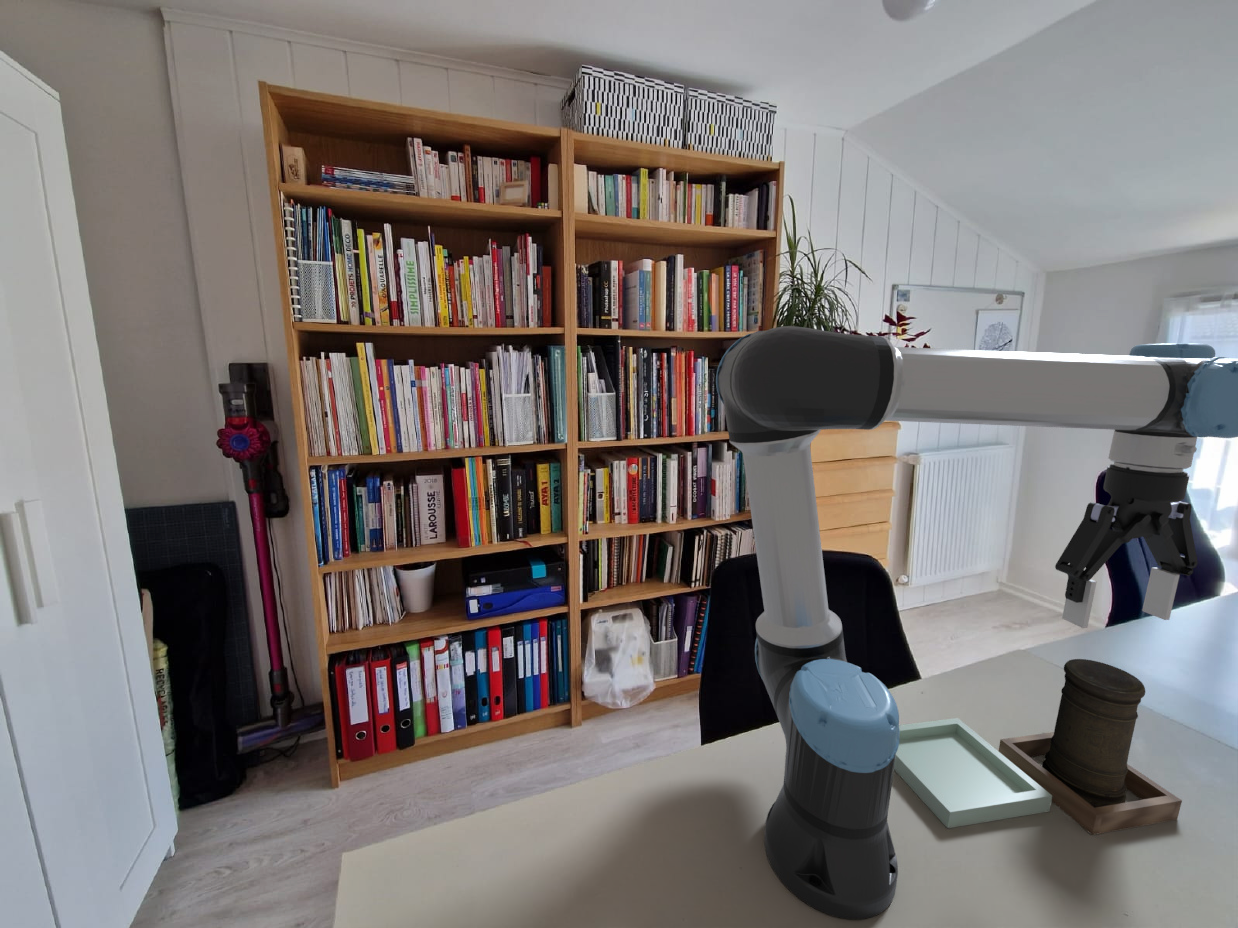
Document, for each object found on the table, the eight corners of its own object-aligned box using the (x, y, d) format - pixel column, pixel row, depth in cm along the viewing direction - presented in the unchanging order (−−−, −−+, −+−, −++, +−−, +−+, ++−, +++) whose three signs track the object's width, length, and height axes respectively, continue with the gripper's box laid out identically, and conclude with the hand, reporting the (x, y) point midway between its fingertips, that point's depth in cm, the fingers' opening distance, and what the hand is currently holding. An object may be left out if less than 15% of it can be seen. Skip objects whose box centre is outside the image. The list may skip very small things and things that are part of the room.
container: (1141, 812, 71) (1170, 695, 68) (1075, 810, 71) (1100, 693, 68) (1085, 763, 80) (1107, 657, 77) (1026, 761, 80) (1046, 655, 77)
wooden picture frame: (1091, 834, 68) (1096, 815, 67) (997, 756, 81) (1000, 739, 81) (1177, 819, 70) (1182, 800, 70) (1071, 745, 84) (1075, 729, 83)
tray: (947, 828, 68) (950, 812, 68) (869, 742, 84) (871, 728, 83) (1049, 811, 71) (1052, 795, 71) (955, 731, 87) (957, 717, 86)
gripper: (1099, 475, 61) (1067, 641, 65) (1261, 470, 65) (1222, 625, 69) (1038, 463, 68) (1013, 613, 72) (1187, 459, 73) (1156, 600, 77)
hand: (1115, 619), depth 71 cm, fingers open, 13 cm apart
